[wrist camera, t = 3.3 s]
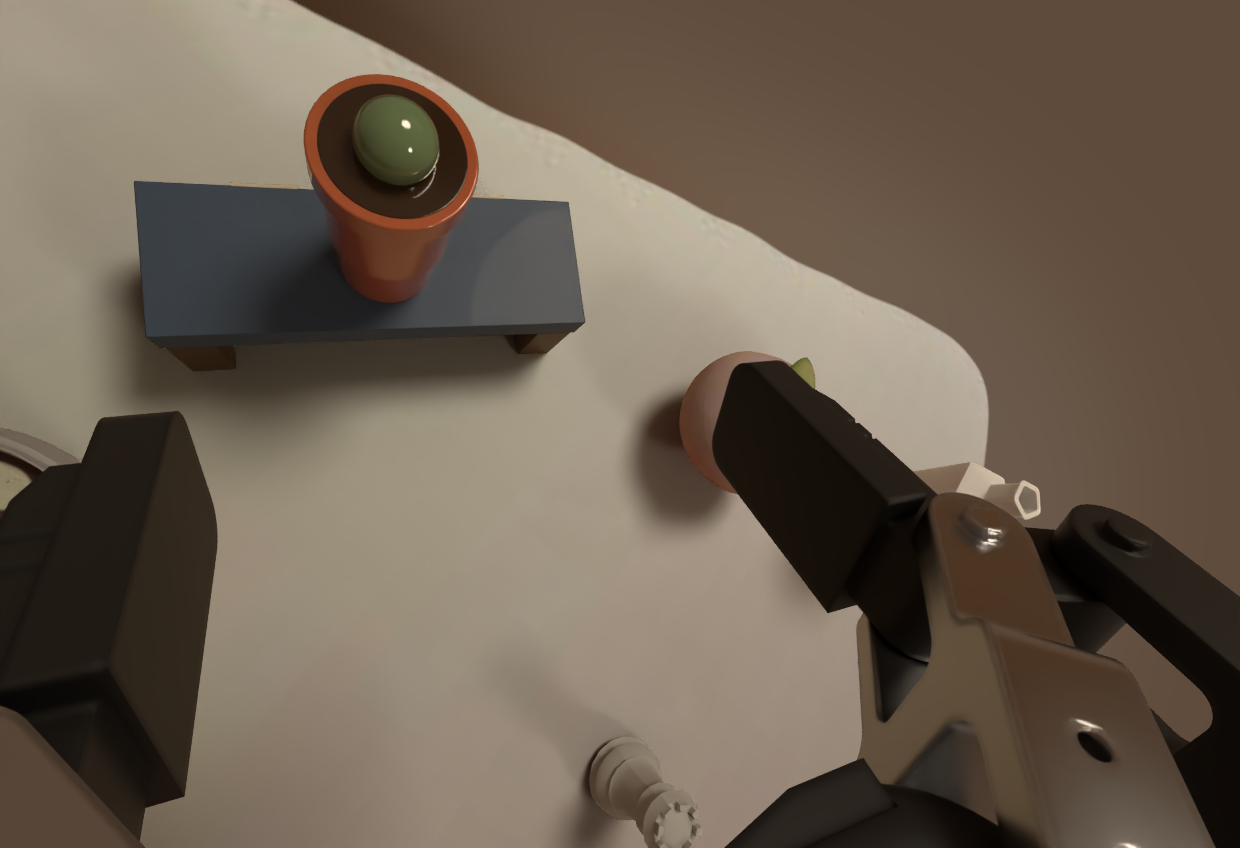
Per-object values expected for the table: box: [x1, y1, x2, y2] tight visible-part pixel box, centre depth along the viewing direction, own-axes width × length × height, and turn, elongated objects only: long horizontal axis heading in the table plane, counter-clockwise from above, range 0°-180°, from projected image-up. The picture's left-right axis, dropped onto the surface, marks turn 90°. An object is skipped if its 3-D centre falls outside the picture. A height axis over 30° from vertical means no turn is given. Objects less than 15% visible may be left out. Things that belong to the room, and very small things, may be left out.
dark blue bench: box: [134, 181, 585, 371], centre depth 34 cm, size 20×7×7 cm, turn 99°
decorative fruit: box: [679, 352, 815, 494], centre depth 40 cm, size 9×8×10 cm
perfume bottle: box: [914, 462, 1041, 520], centre depth 41 cm, size 5×4×15 cm
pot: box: [304, 74, 479, 303], centre depth 25 cm, size 6×6×12 cm
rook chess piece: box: [589, 736, 702, 848], centre depth 35 cm, size 4×4×8 cm
